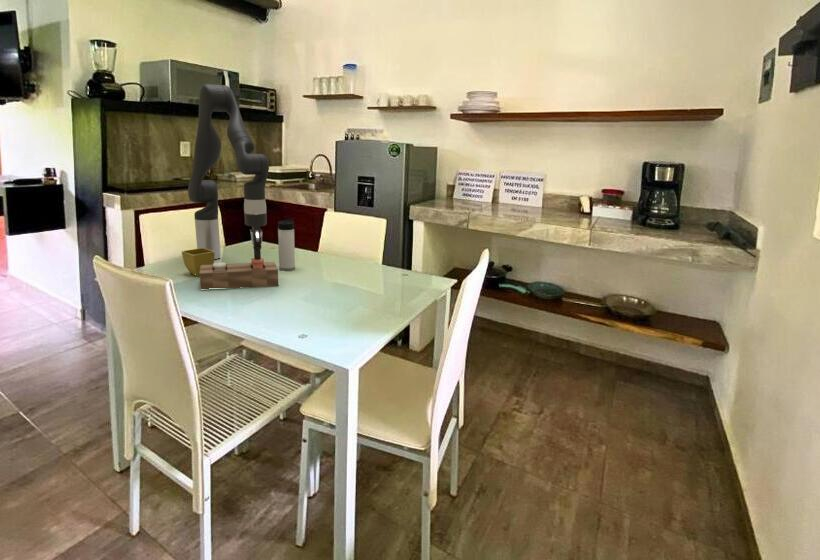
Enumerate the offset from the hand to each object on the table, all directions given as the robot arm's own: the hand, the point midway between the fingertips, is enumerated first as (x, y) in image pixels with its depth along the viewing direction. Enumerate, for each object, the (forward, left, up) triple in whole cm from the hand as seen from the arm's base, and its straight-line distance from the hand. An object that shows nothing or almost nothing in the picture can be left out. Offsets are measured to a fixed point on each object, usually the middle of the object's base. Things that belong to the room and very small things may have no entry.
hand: (257, 259), depth 176 cm
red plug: (0, 0, -7) cm, 7 cm away
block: (0, -7, -9) cm, 11 cm away
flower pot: (-16, -21, -9) cm, 28 cm away
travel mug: (-17, +12, -9) cm, 23 cm away
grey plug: (0, -13, -8) cm, 15 cm away
